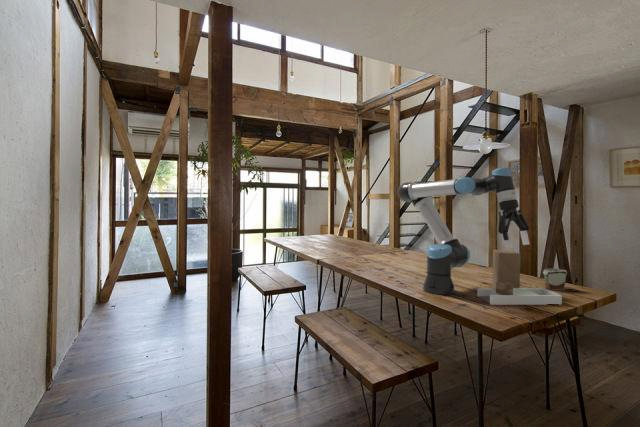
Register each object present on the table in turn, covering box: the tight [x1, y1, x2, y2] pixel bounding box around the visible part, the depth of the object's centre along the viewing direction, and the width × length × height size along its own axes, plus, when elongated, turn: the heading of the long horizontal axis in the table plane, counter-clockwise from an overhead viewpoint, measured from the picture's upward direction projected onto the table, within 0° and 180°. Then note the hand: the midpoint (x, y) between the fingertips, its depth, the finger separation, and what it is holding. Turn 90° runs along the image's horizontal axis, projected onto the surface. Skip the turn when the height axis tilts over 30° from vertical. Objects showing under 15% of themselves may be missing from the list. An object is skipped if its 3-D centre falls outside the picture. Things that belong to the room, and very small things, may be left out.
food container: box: [542, 268, 568, 291], centre depth 169 cm, size 12×6×10 cm, turn 100°
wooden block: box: [491, 249, 522, 288], centre depth 166 cm, size 10×10×20 cm
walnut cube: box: [496, 282, 513, 295], centre depth 148 cm, size 5×5×5 cm
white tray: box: [476, 287, 563, 306], centre depth 148 cm, size 32×12×4 cm, turn 91°
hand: (518, 246), depth 145 cm, fingers open, 13 cm apart
